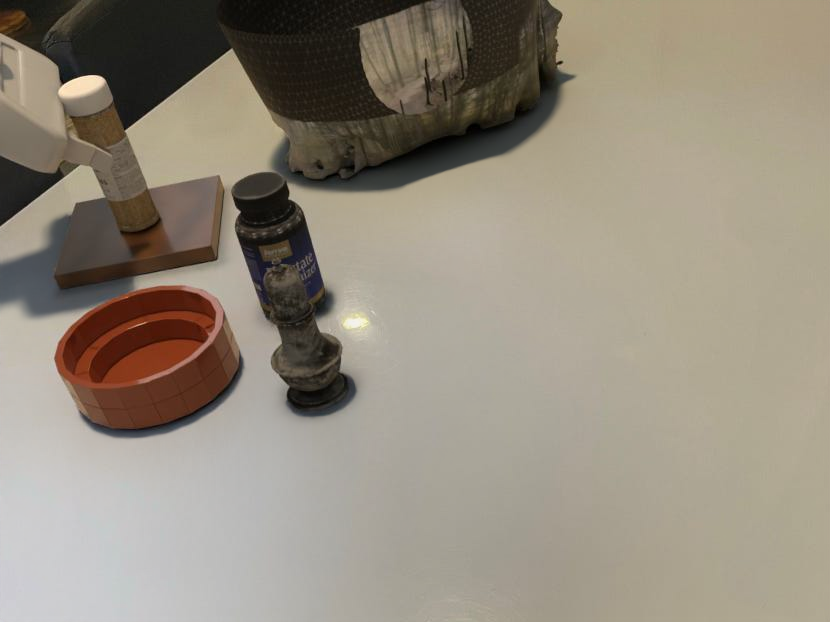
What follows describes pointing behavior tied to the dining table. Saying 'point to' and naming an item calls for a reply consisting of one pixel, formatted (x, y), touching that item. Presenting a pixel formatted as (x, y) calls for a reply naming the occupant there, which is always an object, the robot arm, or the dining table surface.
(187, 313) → the bowl
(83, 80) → the sprinkles bottle
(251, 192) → the pill bottle
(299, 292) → the grey stone chess piece
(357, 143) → the basket
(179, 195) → the board
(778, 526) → the dining table surface
